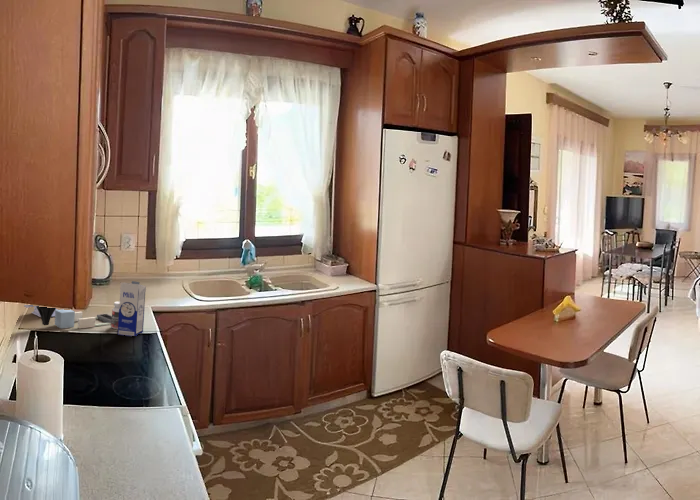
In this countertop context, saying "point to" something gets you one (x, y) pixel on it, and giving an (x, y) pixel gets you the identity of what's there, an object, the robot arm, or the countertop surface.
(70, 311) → the block
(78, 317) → the channel
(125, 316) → the milk carton
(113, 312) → the pill bottle
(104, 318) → the pit tray
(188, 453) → the countertop surface
